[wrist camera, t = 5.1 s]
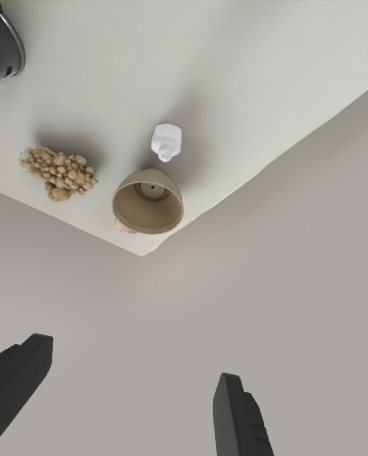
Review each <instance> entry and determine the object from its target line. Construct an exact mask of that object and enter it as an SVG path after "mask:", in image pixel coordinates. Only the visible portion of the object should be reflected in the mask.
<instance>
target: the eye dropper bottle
mask: <svg viewBox="0 0 368 456" xmlns="http://www.w3.org/2000/svg"><path fill="white" fill-rule="evenodd" d="M181 144H182V130H181V128H179V127H178V126H176V125H173V124H168V123H163V124H159V125H157V126H156V127H155V130H154V134H153V137H152V143H151V148H152V150H153V151H154V152H155V153H157V154H158V157H159V159H160V160H161V161H163V162H168V161H170V160H171V158H172V156H176V155H178V154H180V152H181Z"/></svg>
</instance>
